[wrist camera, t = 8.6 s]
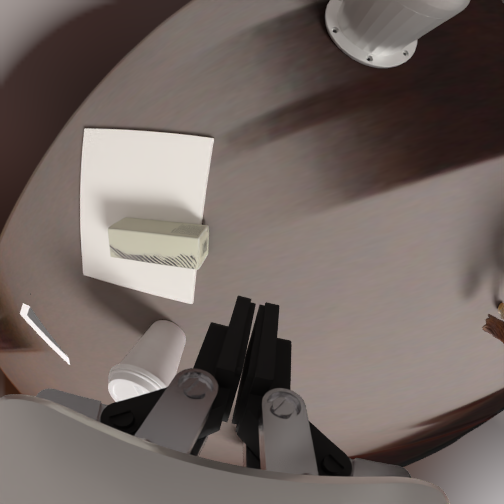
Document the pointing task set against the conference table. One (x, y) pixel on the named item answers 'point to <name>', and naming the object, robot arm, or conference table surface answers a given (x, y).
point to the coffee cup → (148, 362)
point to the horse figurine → (496, 324)
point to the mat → (140, 201)
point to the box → (159, 242)
